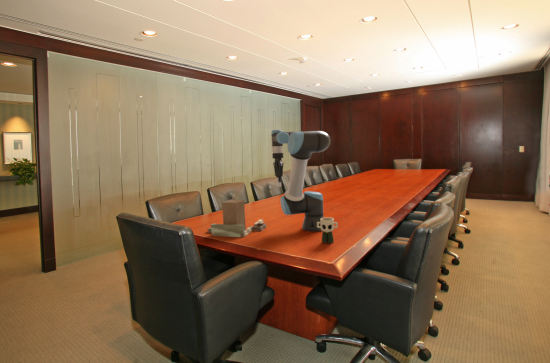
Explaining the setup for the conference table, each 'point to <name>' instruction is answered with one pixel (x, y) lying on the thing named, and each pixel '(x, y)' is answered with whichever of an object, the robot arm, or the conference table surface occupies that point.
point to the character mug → (327, 229)
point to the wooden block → (234, 212)
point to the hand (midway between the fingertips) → (279, 186)
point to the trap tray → (235, 229)
